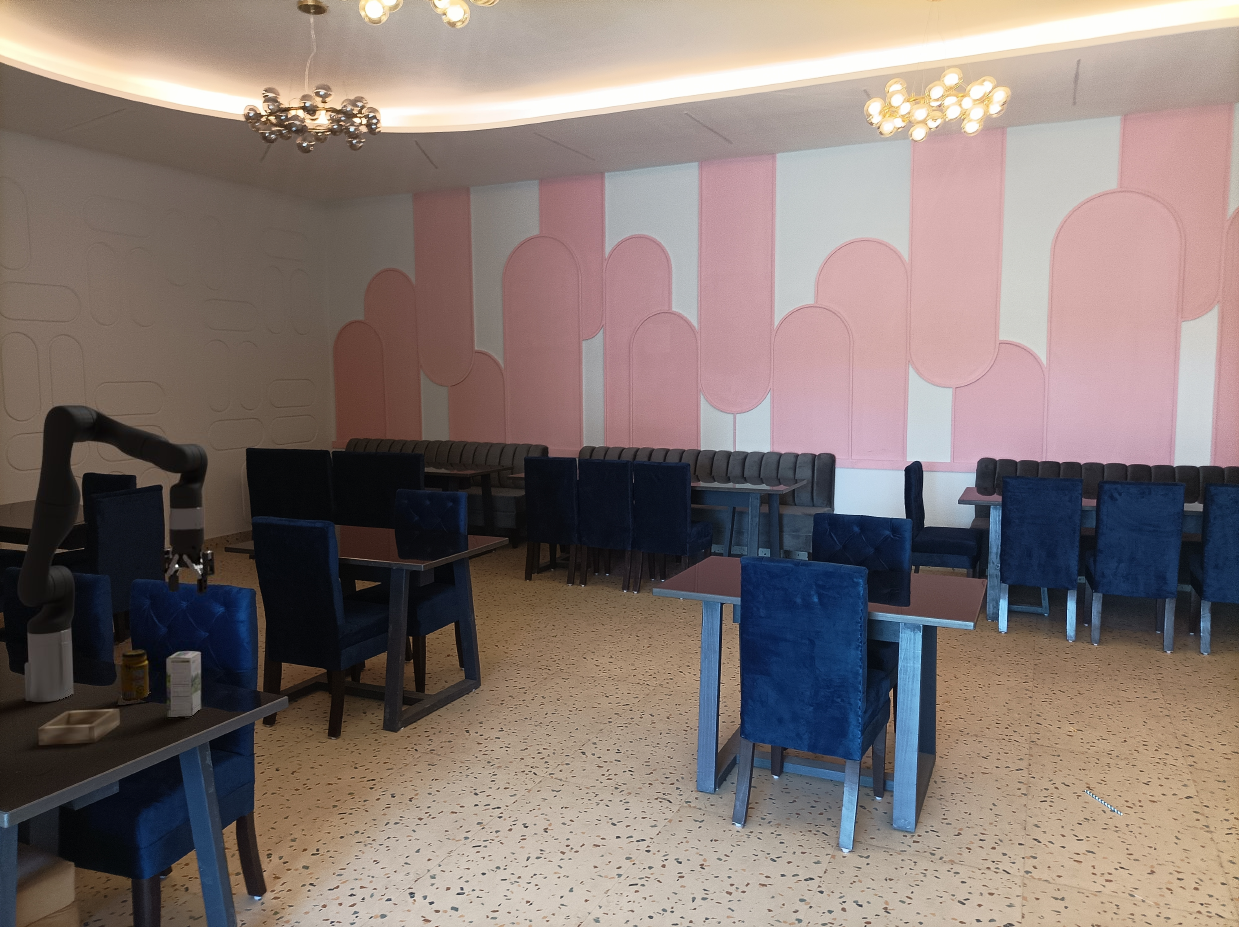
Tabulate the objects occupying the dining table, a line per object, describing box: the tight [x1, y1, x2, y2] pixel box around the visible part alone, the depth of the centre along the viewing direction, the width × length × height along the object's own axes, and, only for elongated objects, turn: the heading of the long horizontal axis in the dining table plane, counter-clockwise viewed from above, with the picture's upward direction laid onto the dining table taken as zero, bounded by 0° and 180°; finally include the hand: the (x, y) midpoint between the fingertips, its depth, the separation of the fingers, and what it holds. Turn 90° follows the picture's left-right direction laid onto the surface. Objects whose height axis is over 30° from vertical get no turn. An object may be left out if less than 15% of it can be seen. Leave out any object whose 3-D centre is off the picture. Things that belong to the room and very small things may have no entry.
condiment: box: [120, 649, 150, 701], centre depth 212 cm, size 7×8×12 cm
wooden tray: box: [37, 708, 121, 746], centre depth 189 cm, size 11×11×4 cm
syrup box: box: [165, 650, 202, 718], centre depth 201 cm, size 6×6×14 cm
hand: (188, 592), depth 206 cm, fingers open, 8 cm apart
